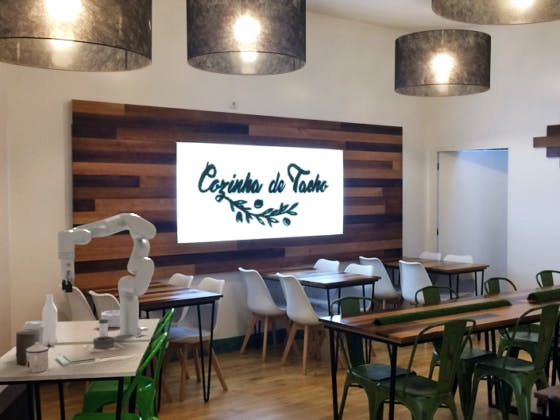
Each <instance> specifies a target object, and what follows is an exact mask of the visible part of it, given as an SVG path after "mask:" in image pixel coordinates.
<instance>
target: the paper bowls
mask: <svg viewBox="0 0 560 420" xmlns="http://www.w3.org/2000/svg"><path fill="white" fill-rule="evenodd" d="M100 319H108V328H109V327H117V328H120V309H117V310H116V309H114V310H113V309H112V310H111V309H110V310H104V311H102V312H101V313H100Z"/></svg>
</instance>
